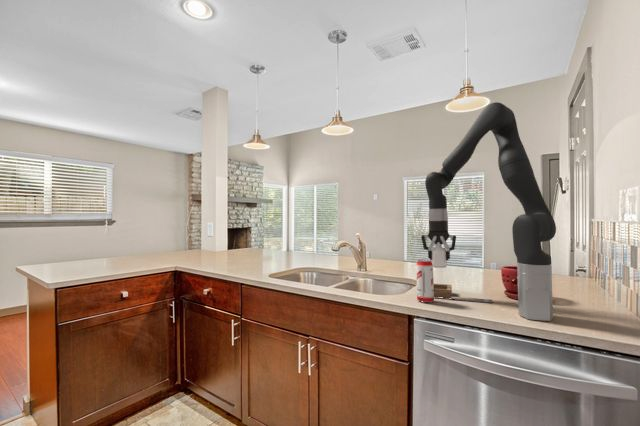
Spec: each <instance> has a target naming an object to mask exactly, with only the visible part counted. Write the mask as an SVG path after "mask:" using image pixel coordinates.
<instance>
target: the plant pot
mask: <svg viewBox="0 0 640 426" xmlns="http://www.w3.org/2000/svg"><path fill="white" fill-rule="evenodd" d="M500 271H501V272H500V273H501V282H502V284H503V287H504V289H505V290H503V294H504V295H505V296H506V297H508V298H511V299H515V300H518V274H517V266H516V265H515V266H514V265H510V266H509V265H508V266H507V265H506V266H501V268H500Z"/></svg>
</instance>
